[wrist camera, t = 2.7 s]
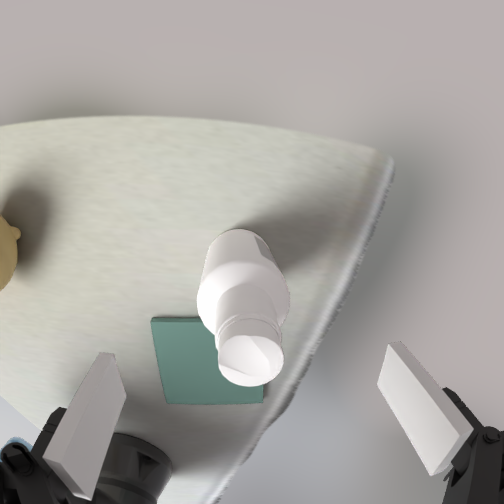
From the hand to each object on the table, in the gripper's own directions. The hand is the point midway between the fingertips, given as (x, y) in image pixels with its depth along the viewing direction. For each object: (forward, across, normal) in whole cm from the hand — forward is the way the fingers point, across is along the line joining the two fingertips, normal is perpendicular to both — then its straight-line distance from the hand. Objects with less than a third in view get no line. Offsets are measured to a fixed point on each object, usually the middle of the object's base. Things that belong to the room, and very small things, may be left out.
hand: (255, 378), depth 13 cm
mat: (+20, +4, +14) cm, 24 cm away
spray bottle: (+20, 0, 0) cm, 20 cm away
